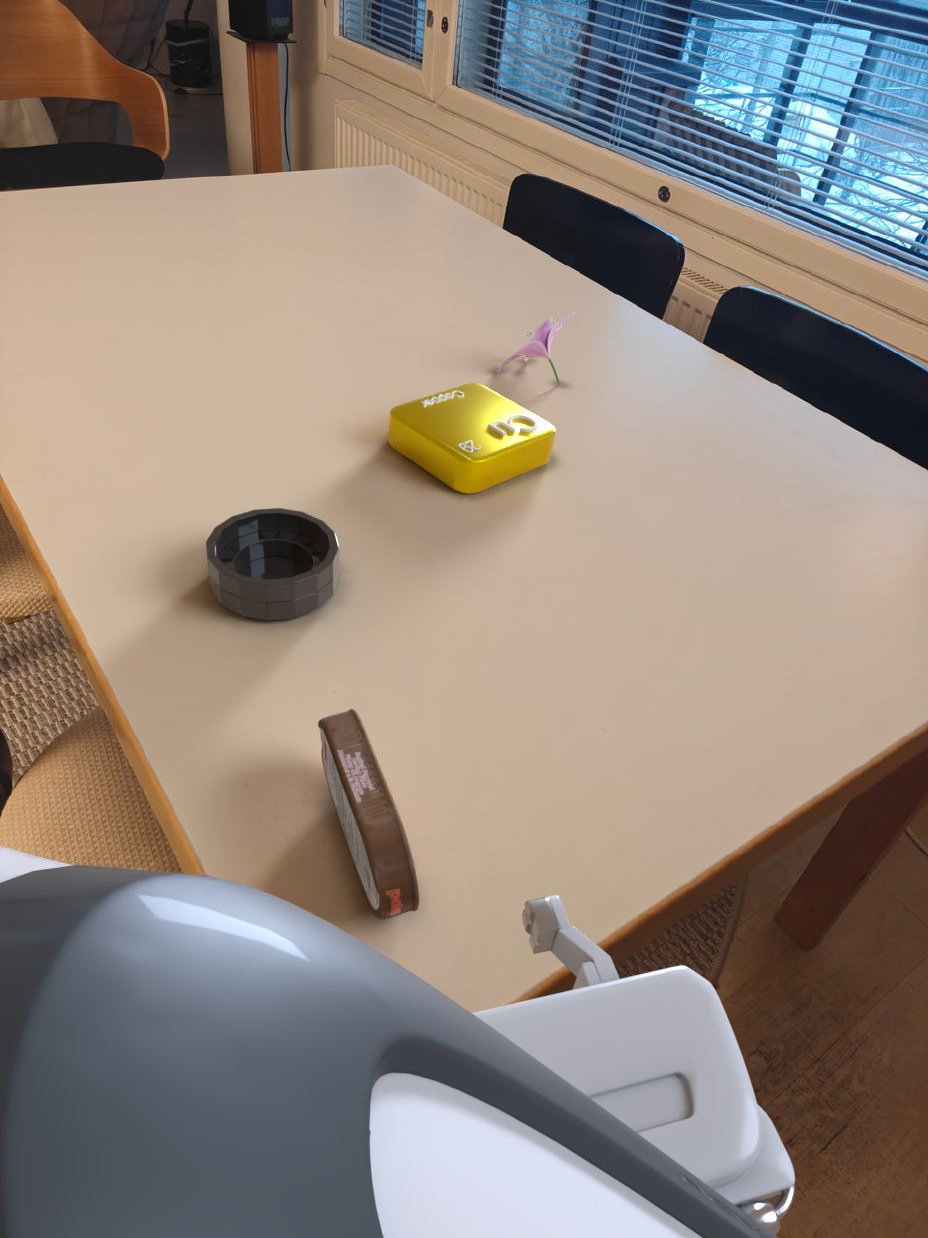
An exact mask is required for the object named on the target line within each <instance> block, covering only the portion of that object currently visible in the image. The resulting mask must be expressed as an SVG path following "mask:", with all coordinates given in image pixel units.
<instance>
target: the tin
mask: <svg viewBox="0 0 928 1238" xmlns="http://www.w3.org/2000/svg"><path fill="white" fill-rule="evenodd" d="M317 727H318V728H319V733H320V741H321V742H320V743H321V750H320V751H321V753H320V754H321V755H320V756H321V762H322V768H323V770H324V774H325V779H326V783H327V787H328V790H329V794H330V797H331V800H332V804H333V807H334V810H335V812H336V813H335V814H336V815H337V818H338V822H339V825H340V828H341V832H342V834H343V837H344V840H345V843H346V847H347V849H348V852H349V856H350V858H351V861H352V865H353V867H354V870H355V874H356V875H357V878H358V881H359V883H360V886H361V889H362V892H363V895H364V897H365V899H366V902H367V905H368V907H369V909H370V912H371V913H372V915H373V916H374V917H375V918H376V919H377V920H380V921H381V920H387V919H392V918H394V917H397V916H400V915H403V914H406V913H409V912H417V911H418V909H419V907H420V892H419V890H420V889H419V884H418V877H417V873H416V871H417V870H416V867H415V862H414V857H413V854H412V851H411V847H410V843H409V839H408V836H407V833H406V830H405V827H404V823H403V821H402V818H401V816H400V813H399V810H398V808H397V805H396V803H395V800H394V798H393V795H392V793H391V791H390V787H389V785H388V782H387V779H386V778H385V775H384V773H383V771H382V768H381V766H380V763H379V760H378V758H377V756H376V753H375V750H374V748H373V744H372V743H371V740H370V738H369V735H368V733H367V730H366V728H365V725H364V723H363V721H362V719H361V717H360V715H359V713H358V712H357V710H356V709H354V708H349V709H348V710H347V711H343V712H340V713H335V714H331V715H328V716H326V717H323V718H321V719H319V720H318V722H317Z"/></svg>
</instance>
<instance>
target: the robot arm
mask: <svg viewBox="0 0 928 1238" xmlns="http://www.w3.org/2000/svg"><path fill="white" fill-rule="evenodd" d="M521 916H522V917H521V918H522V924H523V927H524V931H525V932H526V933H527V934H529V938H528V942H529V945H530V948H531V952H532V953H533V955H536V954H540V953H545V952H550V953H552V954H553V955H554V956H555V957H556V958H557V960H559V961H560V962H561V963H562V964H563V966H564V967H566V968H567V969H568V970H569V971H570V972H571V973H572V974H573V975H574V976H575V977H576V979H575V982H574V984H573V987H572V989H570V990H565V991H563V992H558V993H553V994H549V995H545V996H540V997H535V998H532V999H527V1000H523V1001H519V1002H513V1003H510V1004H506V1005H501V1006H495V1007H492V1008H487V1009H484V1010H479V1011H475V1012H471V1011H469V1010H468V1009H466V1008H465V1007H464V1006H462V1005H461V1004H460V1003H458V1002H457V1001H455V1000H453V999H452V998H451V997H449V996H448V995H446V994H445V993H443V992H442V991H440V990H439V989H438V988H436V987H435V986H433V985H432V984H430V983H428V982H427V981H425V980H424V979H423V978H421V977H419V976H418V975H416V974H415V973H414V972H412V971H410V970H409V969H408V968H406V967H405V966H403V965H401V964H400V963H398V962H396V961H395V960H393V959H392V958H390V957H388V956H387V955H385V954H384V953H382V952H380V951H379V950H378V949H376V948H375V947H373V946H371V945H370V944H367V943H366V942H364V941H363V940H361V939H360V938H358V937H355V936H354V935H352V934H350V933H349V932H347V931H345V930H343V929H342V928H341V927H338V926H337V925H335V924H333V923H331V922H330V921H328V920H326V919H324V918H322V917H320V916H318V915H316V914H314V913H313V912H311V911H309V910H306V909H304V908H302V907H300V906H298V905H297V904H294V903H292V902H290V901H287V900H285V899H283V898H280V897H279V896H276V895H274V894H271V893H268V892H266V891H263V890H260V889H258V888H255V887H253V886H249V885H246V884H242V883H239V882H236V881H233V880H229V879H224V878H219V877H215V876H210V875H203V874H193V873H192V874H191V873H182V872H171V871H170V872H169V871H157V870H146V869H138V868H137V869H135V868H126V867H118V866H102V865H88V864H87V865H86V864H70V863H67V862H61V861H58V860H53V859H50V858H46V857H41V856H38V855H35V854H31V853H28V852H24V851H20V850H17V849H13V848H10V847H6V846H3V845H0V1238H779V1237H778V1236H777V1235H776V1234H777V1233H779V1231H780V1229H781V1221H780V1220H781V1219H782V1218H784V1216H785V1215H786V1214H787V1213H788V1211H789V1210H790V1208H791V1206H792V1204H793V1202H794V1198H795V1192H796V1175H795V1169H794V1165H793V1163H792V1160H791V1158H790V1156H789V1154H788V1151H787V1150H786V1148H785V1145H784V1143H783V1142H782V1139H781V1138H780V1135H779V1133H778V1131H777V1129H776V1127H775V1125H774V1123H773V1121H772V1120H771V1118H770V1117H769V1115H768V1114H767V1112H766V1111H765V1110H763V1108H762V1107H761V1106H760V1105H759V1104H758V1101H757V1098H756V1095H755V1091H754V1088H753V1084H752V1081H751V1077H750V1075H749V1072H748V1069H747V1066H746V1063H745V1060H744V1057H743V1054H742V1052H741V1049H740V1046H739V1044H738V1040H737V1038H736V1035H735V1032H734V1029H733V1027H732V1024H731V1023H730V1020H729V1018H728V1015H727V1013H726V1011H725V1008H724V1006H723V1004H722V1001H721V999H720V996H719V995H718V993H717V991H716V989H715V987H714V986H713V984H712V983H711V982H710V981H709V980H708V979H706V978H705V977H704V976H702V975H701V974H700V973H698V972H696V971H695V970H693V969H691V968H690V967H688V966H686V965H682V964H681V965H674V966H672V967H671V966H670V967H666V968H661V969H658V970H653V971H649V972H645V973H640V974H637V975H636V974H635V975H631V976H626V977H623V978H620V977H619V974H618V971H617V969H616V967H615V964H614V962H613V959H612V957H611V955H610V954H608V952H606V951H605V950H604V949H603V948H601V947H599V946H598V945H597V944H596V943H595V942H594V941H593V940H591V939H590V938H589V937H588V936H586V935H585V934H584V933H583V932H581V931H580V930H579V929H578V928H577V927H575V926H572V925H571V923H570V920H569V918H568V916H567V913H566V910H565V907H564V905H563V903H562V901H561V898H560V896H559V895H558V894H553V895H547V896H541V897H539V898H534V899H530V900H529V899H528V900H526V901H524V909H523V910H522V914H521ZM779 1195H780V1197H779V1199H778V1200H777V1202H775V1204H774V1205H773V1204H772V1202H770V1200H767V1199H771V1198H773V1197H776V1196H779Z"/></svg>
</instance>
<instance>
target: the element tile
mask: <svg viewBox="0 0 928 1238" xmlns="http://www.w3.org/2000/svg"><path fill="white" fill-rule="evenodd" d="M388 416H389V418H388V435H387V436H388V439H387V441H388V443H389V445H390V447H391V448H393V449H394V450H396V451H397V452H398V453H399V454H401V455H402V456H403V457H406V458H407V459H408V460H410V461H411V462H413V463H414V464H416V465H417V466H418V467H420V468H422V469H423V470H425V471H426V472H427V473H429V474H430V475H432V476H433V477H435V478H436V479H438V481H439V480H440V481H441V482H442V483H444V484H445V485H446V486H448V487H449V488H451V489H452V490H454V491H456V492H458V493H462V494H469V495H470V494H476V493H480V492H482V491H485V490H487V489H491V487H494V486H497V485H499V484H502V483H505V482H507V481H509V480H511V479H514V478H516V477H519V476H521V475H524V474H526V473H528V472H531V471H534V470H536V469H538V468H541V467H543V466H545V465H546V464H548V463H549V462H550V460H551V456H552V451H553V446H554V441H555V435H556V428H555V426H554V425H552V424H551V422H548V421H547V420H545V419H544V418H542V417H540V416H538V415H536V414H535V413H533V412H531V411H529V410H528V409H526V408H525V407H522V406H521V405H519V404H517V403H516V402H514V401H513V400H510V399H508V398H506V397H505V396H504V395H501V394H500V393H498V392H497V391H495V390H492V389H491V388H490V387H488V386H485V385H483V384H481V383H479V382H471V383H465V384H461V385H459V386H455V387H452V388H448V389H445V390H441V391H439V392H436V393H435V392H434V393H433V394H430V395H429V394H428V395H425V396H423V397H420V398H416V399H414V400H410V401H407V402H403V403H401V404H398V405H394V406H393V407H392V408H391V409H390V410H389V415H388Z"/></svg>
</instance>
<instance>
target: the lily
mask: <svg viewBox="0 0 928 1238" xmlns="http://www.w3.org/2000/svg"><path fill="white" fill-rule="evenodd" d="M574 314H576V311H574V312H572V313H570V314H568V315H567V316H565V317H564V318H562V319H561V320H559V321H558V322H557V323H555V324H554V320H553V316H552V315H551V316H549V317H547V318H545V320H544V321H543V322H541V324H539V325H538V326H537V327H536V329H534V331H532V332H529V334H526V336H527V337H529V342H528V343H526V344H525V345H523V346H521V347H520V348H518V349H517V350H516V351H515V352H514V353H513V354H512V355H510V356H509V357H508V358H507V359H506V360H505V361H504V362H503V363H502V364H501V365H500V366H499V367H498V368H497V370H496V371H495V372H496V373H497V372H499V371H500V370H501V369H502V368H505V366H506V365H508V364H510V363H511V362H512V361H514V360H515V359H517V358H519V357H522V356H523V360H524V361H525V362H528V361H529V359H530V358H545V359H547V360H548V362H549V364H550V366H551V368H552V371H553V374H554V376H555V380H556V383H557V385H560V384H561V382H560V379H559V376H558V373H557V371H556V367H555V366H554V363H553V361H552V359H551V356H550V350H551V346H552V342H553V340H554V336H555V334H556V332H557V331H558V330H560V329H562V328H563V324H564V323H565V322H566V321H567V320H568V319H570V318H571V317H572V316H573V315H574ZM531 333H532V334H531Z"/></svg>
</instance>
